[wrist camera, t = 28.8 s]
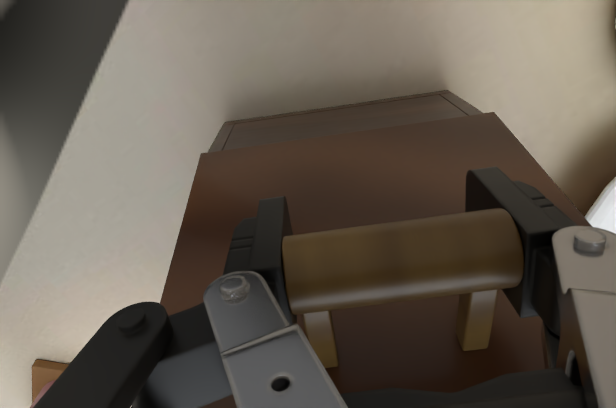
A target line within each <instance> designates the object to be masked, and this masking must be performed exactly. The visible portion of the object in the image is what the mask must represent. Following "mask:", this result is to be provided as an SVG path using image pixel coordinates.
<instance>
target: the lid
mask: <svg viewBox="0 0 616 408" xmlns="http://www.w3.org/2000/svg"><path fill="white" fill-rule="evenodd" d="M495 166H496V167H498V168H499V169H500V170H501V171H502V172H503V173H504V174H506V175H507V176H508V177H509V178H510V179H511V180H512V181H518V180H519V181H521V182H523V183H526V184H528V185H531V186H533V187H535V188H536V189H538V190H539V191H540V192H541V193H542V194H543V195H544V196H545V198H548V199H549V200H550V201H551V202H552V203H553V204H554V206H557V207H558V208H559V209H560V210H561V211H562V212H564V213H565V214H566V215H567V216H568V217H569V218H570V219H571V220H573V221H574V222H575V223H576V224H577V225H578V226H590V227H592V226H591V224H590V223H589V222H588V221H587V220H586V219H585V217H584V216H583V215H582V214H581V213H580V212H579V210H578V209H577V208H576V207H575V206H574V205H573V203H572V202H571V201H570V200H569V199H568V198H567V196H566V195H565V194H564V193H563V192H562V191H561V189H560V188H559V187H558V186H557V185H556V184H555V183H554V181H553V180H552V179H551V178H550V177H549V176H548V174H547V173H546V172H545V171H544V170H543V169H542V167H541V166H540V165H539V164H538V163H537V162H536V160H535V159H534V158H533V157H532V156H531V155H530V153H529V152H528V151H527V150H526V149H525V148H524V146H523V145H522V144H521V143H520V142H519V141H518V139H517V138H516V137H515V136H514V135H513V134H512V132H511V131H510V130H509V129H508V128H507V127H506V125H505V124H504V123H503V122H502V121H501V120H500V118H499V117H498V116H497V115H496V114H495V113H494V112H490V113H483V114H476V115H469V116H462V117H455V118H448V119H441V120H434V121H427V122H420V123H413V124H406V125H398V126H391V127H384V128H377V129H370V130H363V131H356V132H349V133H342V134H335V135H328V136H321V137H314V138H307V139H300V140H293V141H285V142H278V143H271V144H264V145H257V146H250V147H243V148H236V149H229V150H222V151H215V152H208V153H201V155H200V159H199V162H198V166H197V170H196V173H195V177H194V181H193V184H192V188H191V192H190V195H189V199H188V203H187V206H186V210H185V214H184V217H183V221H182V225H181V228H180V232H179V236H178V239H177V243H176V247H175V250H174V254H173V258H172V261H171V265H170V269H169V272H168V276H167V280H166V283H165V287H164V290H163V294H162V298H161V301H160V304H161V305H163V306H164V307H165V309H166V311H167V314H168V316H169V315H172V314H175V313H178V312H181V311H184V310H186V309H189V308H192V307H194V306H197V305H199V304H201V303H202V302H204V300H203V295H204V292H205V290H206V288H207V287H208V286H209V285H210V284H211V283H212V282H213V281H214V280H216V279H217V278H219V277H221V276H222V275H223V271H224V267H225V263H226V259H227V255H228V251H229V250H230V249H229V247H230V243H231V241H232V235H233V231H234V228H235V227H236V226H237V225H238V224H239V223H240V222H241V221H242V220H243V219H244V218H250V217H257V211H258V206H259V200H260V199H266V198H273V197H280V196H285V197H286V200H287V205H288V210H289V216H290V221H291V226H292V232H293V235H290V236H285V237H283V240H282V263H283V274H284V282H285V289H286V295H287V300H288V304H289V308H290V311H291V313H292V314H293V315H297V324H298V325H299V326H300V328H301V329H302V331H303V332H304V334H305V336H306V338H307V339H308V341H309V343H310V344H311V346H312V348H313V349H314V351H315V353H316V354H317V356H318V358H319V360H320V361H321V363H322V365H323V366H324V368H325V370H326V371H327V373H328V375H329V376H330V378H331V380H332V382H333V383H334V385H335V387H336V388H337V390H338V392H339V393H340V394H342V393H351V392H359V391H367V390H376V389H384V388H402V389H413V390H423V391H434V392H444V393H454V392H458V391H461V390H464V389H466V388H469V387H472V386H474V385H477V384H480V383H483V382H485V381H488V380H491V379H493V378H496V377H499V376H502V375H504V374H510V373H518V372H526V371H535V370H543V369H545V364H544V356H543V349H542V341H541V328H542V319H541V317H540V316H535V317H527V318H520V317H519V315H518V314H517V312H516V310H515V309H514V307H513V306H512V304H511V303H510V301H509V300H508V298H507V297H506V295H505V294H504V292H503V291H502V289H506V288H514V287H516V286H518V285H519V284H520V282H521V280H522V278H523V273H524V252H523V246H522V241H521V237H520V234H519V231H518V228H517V226H516V224H515V222H514V220H513V218H512V217H511V215H510V214H509V213H508V212H507V211H506V210H505V209H502V208H494V209H486V210H479V211H471V212H465V195H466V174H467V172H468V171H469V170H473V169H480V168H488V167H495ZM200 408H237V406H236V403H235V399H234V396H233V394H232V395H230V396H227V397H225V398H222V399H220V400H218V401H215V402H213V403H210V404H208V405H205V406H203V407H200Z"/></svg>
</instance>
